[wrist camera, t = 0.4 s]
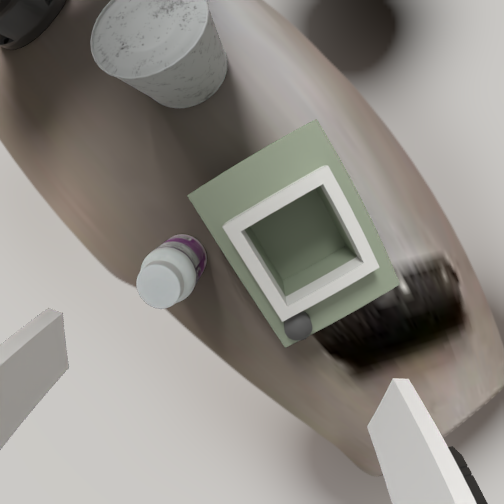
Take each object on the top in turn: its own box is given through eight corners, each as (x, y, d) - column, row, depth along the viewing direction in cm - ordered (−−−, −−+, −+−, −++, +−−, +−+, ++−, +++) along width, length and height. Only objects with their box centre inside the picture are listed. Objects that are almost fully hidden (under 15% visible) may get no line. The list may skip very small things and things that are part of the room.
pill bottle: (188, 288, 35) (164, 328, 26) (153, 258, 35) (117, 289, 25) (218, 254, 34) (201, 286, 25) (180, 223, 33) (150, 243, 24)
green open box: (205, 189, 32) (180, 197, 23) (303, 131, 30) (320, 114, 21) (281, 310, 36) (286, 359, 26) (372, 259, 34) (408, 292, 24)
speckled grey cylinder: (231, 101, 30) (212, 64, 18) (144, 115, 30) (88, 93, 19) (224, 26, 28) (206, -34, 16) (142, 41, 28) (94, -4, 16)
